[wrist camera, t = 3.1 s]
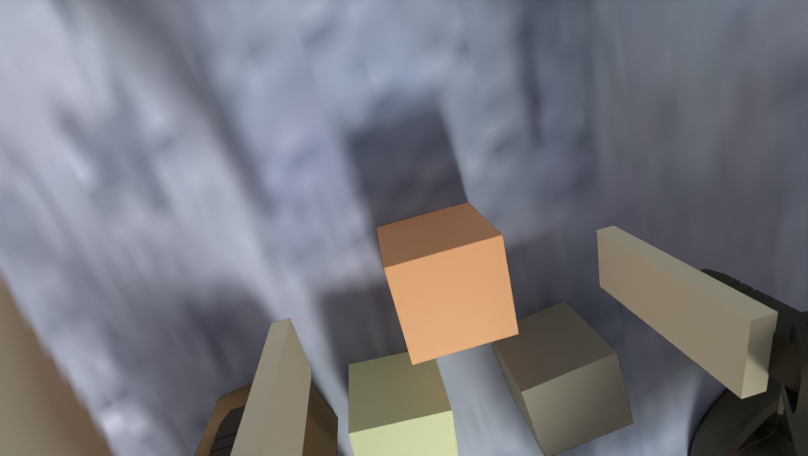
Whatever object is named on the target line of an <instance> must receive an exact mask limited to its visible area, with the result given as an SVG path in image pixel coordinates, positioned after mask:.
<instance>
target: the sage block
mask: <svg viewBox="0 0 808 456" xmlns="http://www.w3.org/2000/svg"><path fill="white" fill-rule="evenodd" d="M348 434H349V437H350V441H351V445H352V448H353V452H354V456H458V449H457V442H456V435H455V428H454V421H453V414H452V409H451V406H450V403H449V400H448V396H447V393H446V390H445V387H444V384H443V381H442V378H441V374H440V371H439V368H438V365H437V362H436V359H431V360H428V361H424V362H421V363H418V364H414V365H412V362H411V358H410V355H409V352H405V353H400V354H395V355H391V356H386V357H381V358H377V359H372V360H367V361H363V362H358V363H353V364H349V432H348Z"/></svg>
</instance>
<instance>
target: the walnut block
mask: <svg viewBox="0 0 808 456" xmlns="http://www.w3.org/2000/svg"><path fill="white" fill-rule="evenodd" d="M252 384H253V382H252V383H250V384H248V385H246V386H244V387H242V388H240V389H238V390H236V391H234V392H231V393H229V394H227V395H225V396H223V397H221V398H219V400H218V402H217V404H216V407H215V409H214V411H213V414H212V416H211V418H210V421H209V423H208V425H207V428H206V430H205V432H204V435H203V437H202V439H201V442H200V444H199V446H198V449H197V451H196V454H195V456H208V455H209V454H210V449H211V446H212V444H213V442H214V438H215V436H216V433H217V430H218V427H219V425H220V423H221V422H222V421H223V419H224V418H225V416H226V415H227V414H228V412H229V411H230V410H231V409H235V408H238V407H241V406H245V405H246V403H247V400H248V397H249V394H250V390H251V387H252ZM337 432H338V417H337V416H336V415H335V413H334V412H333V411H332V409H331V408H330V407H329V405H328V404H327V403H326V401H325V400H324V399H323V397H322V396H321V395H320V393H319V392H318V391H317V389H316V388H315V387H314V385H313V384H312V383H310V391H309V400H308V408H307V417H306V425H305V434H304V442H303V451H302V456H337Z"/></svg>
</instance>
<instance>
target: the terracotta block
mask: <svg viewBox="0 0 808 456" xmlns="http://www.w3.org/2000/svg"><path fill="white" fill-rule="evenodd" d="M376 229H377V235H378V240H379V245H380V250H381V255H382V261H383V266H384V270H385V274H386V277H387V280H388V284H389V287H390V290H391V294H392V297H393V301H394V304H395V307H396V311H397V314H398V318H399V321H400V324H401V328H402V331H403V335H404V338H405V341H406V345H407V348H408V352H409V355H410V358H411V362H412V365H414V364H418V363H421V362H424V361H428V360H431V359H435V358H438V357H441V356H445V355H448V354H452V353H455V352H459V351H462V350H465V349H469V348H472V347H476V346H479V345H482V344H486V343H489V342H493V341H496V340H500V339H503V338H506V337H510V336H513V335H517V334H519V333H518V327H517V321H516V315H515V309H514V303H513V296H512V290H511V284H510V278H509V272H508V266H507V260H506V254H505V247H504V241H503V235H502V234H501V233H500V232H499V231H498V230H497V229H496V228H495V227H494V226H493V225H492V224H491V223H489V222H488V221H487V220H486V219H485V218H484V217H483V216H482V215H481V214H480V213H479V212H478V211H477V210H476V209H475V208H474V207H473V206H472V205H471V204H470V203H469V202H466V203H463V204H459V205H455V206H452V207H448V208H445V209H441V210H437V211H434V212H430V213H427V214H423V215H419V216H416V217H412V218H409V219H405V220H401V221H398V222H394V223H391V224H387V225H383V226H380V227H376Z"/></svg>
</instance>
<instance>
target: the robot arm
mask: <svg viewBox="0 0 808 456" xmlns="http://www.w3.org/2000/svg"><path fill="white" fill-rule="evenodd" d="M597 244H598V262H599V280H600V287H602V288H603V289H604V290H605V291H607V292H608V293H609V294H610V295H612V296H613V297H614V298H615V299H617V300H618V301H619V302H620V303H622V304H623V305H624V306H625V307H627V308H628V309H629V310H630V311H632V312H633V313H634V314H635V315H637V316H638V317H639V318H640V319H642V320H643V321H644V322H646V323H647V324H648V325H649V326H651V327H652V328H653V329H654V330H656V331H657V332H658V333H659V334H661V335H662V336H663V337H664V338H666V339H667V340H668V341H669V342H671V343H672V344H673V345H674V346H676V347H677V348H678V349H679V350H681V351H682V352H683V353H684V354H686V355H687V356H688V357H689V358H691V359H692V360H693V361H694V362H696V363H697V364H698V365H699V366H701V367H702V368H703V369H705V370H706V371H707V372H708V373H710V374H711V375H712V376H713V377H715V378H716V379H717V380H718V381H720V382H721V383H722V384H723V385H725V386H726V387H727V388H728V389H729V390H728V391H727V392H726V393H725V394H724V395H723V396H722V397H721V398H720V399H719V400H718V401H717V403H716V404H715V405H714V406H713V407H712V409H711V410H710V411H709V413H708V414H707V415H706V417H705V418H704V420H703V422H702V423H701V425H700V427H699V429H698V431H697V433H696V435H695V438H694V441H693V444H692V448H691V454H690V456H808V311H806V312H800V311H798V310H796V309H794V308H792V307H790V306H788V305H786V304H784V303H782V302H780V301H778V300H776V299H774V298H772V297H770V296H768V295H766V294H764V293H762V292H760V291H758V290H753V288H752V287H750V286H748V285H746V284H744V283H742V284H741V283H740V281H738V280H736V279H734V278H732V277H730V276H728V275H726V274H723V273H719V272H716V271H712V270H708V269H703V270H700V271H699V270H697V269H695V268H694V267H692V266H690V265H688V264H686V263H684V262H682V261H680V260H678V259H676V258H675V257H673V256H671V255H669V254H667V253H665V252H663V251H661V250H659V249H658V248H656V247H654V246H652V245H650V244H648V243H646V242H644V241H642V240H641V239H639V238H637V237H635V236H633V235H631V234H629V233H627V232H625V231H624V230H622V229H620V228H618V227H616V226H610V227H607V228H603V229H600V230H597ZM311 374H312V369H311V367H310V365H309V362H308V360H307V357H306V355H305V353H304V350H303V348H302V346H301V343H300V341H299V338H298V336H297V334H296V331H295V329H294V326H293V324H292V322H291V319H290V318H288V319H285V320H281V321H278V322H274V323H271V326H270V329H269V332H268V336H267V339H266V342H265V345H264V349H263V352H262V355H261V358H260V361H259V365H258V368H257V371H256V374H255V378H254V381H253V384H252V387H251V390H250V394H249V397H248V400H247V403H246V405H245V406H241V407H238V408H235V409H231V410H230V411H229V412H228V414H227V415H226V416H225V418H224V419H223V421H222V422H221V423H220V425H219V427H218V430H217V433H216V436H215V438H214V442H213V444H212V446H211V449H210V454H209V455H208V456H302V451H303V442H304V434H305V425H306V417H307V408H308V400H309V391H310V383H311Z"/></svg>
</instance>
